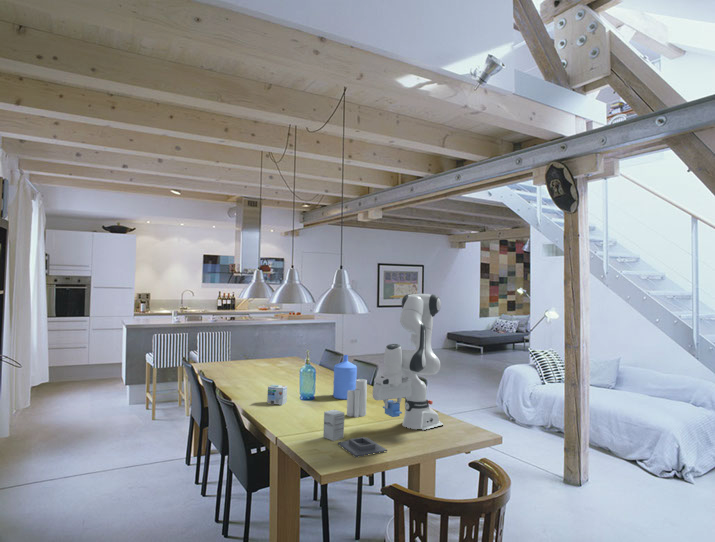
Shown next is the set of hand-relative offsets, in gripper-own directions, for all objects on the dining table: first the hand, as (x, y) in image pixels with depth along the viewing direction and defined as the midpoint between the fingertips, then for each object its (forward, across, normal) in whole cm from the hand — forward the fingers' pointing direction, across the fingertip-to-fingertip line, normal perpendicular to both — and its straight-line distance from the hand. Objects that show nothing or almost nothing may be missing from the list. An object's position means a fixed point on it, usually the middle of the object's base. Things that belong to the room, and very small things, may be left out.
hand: (392, 407), depth 215 cm
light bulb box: (+17, +27, -91) cm, 96 cm away
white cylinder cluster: (+17, -7, -48) cm, 51 cm away
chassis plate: (+17, +16, 0) cm, 23 cm away
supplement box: (+17, +22, -18) cm, 33 cm away
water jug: (+18, -20, -90) cm, 94 cm away
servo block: (+3, 0, 0) cm, 3 cm away
